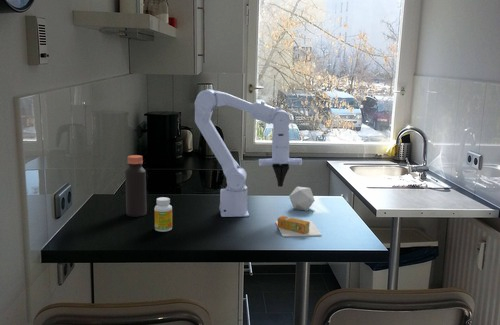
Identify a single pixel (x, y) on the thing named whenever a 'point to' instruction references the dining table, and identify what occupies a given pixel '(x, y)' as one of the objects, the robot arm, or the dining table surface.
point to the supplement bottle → (163, 215)
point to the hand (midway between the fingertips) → (280, 185)
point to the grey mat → (312, 232)
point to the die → (302, 198)
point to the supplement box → (293, 224)
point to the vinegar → (135, 187)
